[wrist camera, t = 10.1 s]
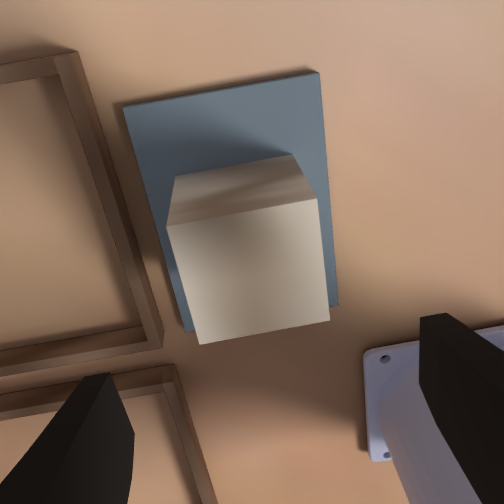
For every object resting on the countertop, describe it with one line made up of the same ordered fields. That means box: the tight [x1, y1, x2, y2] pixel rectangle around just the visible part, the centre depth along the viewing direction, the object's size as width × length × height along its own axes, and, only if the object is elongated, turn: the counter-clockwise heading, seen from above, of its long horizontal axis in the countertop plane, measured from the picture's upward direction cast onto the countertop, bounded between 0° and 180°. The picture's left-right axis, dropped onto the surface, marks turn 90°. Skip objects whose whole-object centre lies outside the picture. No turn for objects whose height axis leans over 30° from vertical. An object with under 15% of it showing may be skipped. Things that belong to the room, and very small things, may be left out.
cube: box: [166, 154, 330, 345], centre depth 17 cm, size 4×4×4 cm
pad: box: [122, 72, 339, 332], centre depth 19 cm, size 7×10×1 cm
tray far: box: [0, 364, 218, 504], centre depth 25 cm, size 12×12×1 cm
